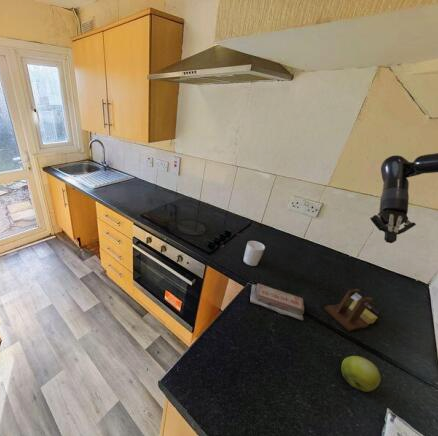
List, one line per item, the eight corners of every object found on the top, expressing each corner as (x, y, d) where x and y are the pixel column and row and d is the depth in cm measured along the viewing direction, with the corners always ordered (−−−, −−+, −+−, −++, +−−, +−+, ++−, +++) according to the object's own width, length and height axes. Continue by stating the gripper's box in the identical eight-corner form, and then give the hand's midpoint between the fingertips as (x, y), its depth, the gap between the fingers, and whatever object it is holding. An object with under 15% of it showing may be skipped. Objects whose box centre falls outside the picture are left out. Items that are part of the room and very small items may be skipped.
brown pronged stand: (341, 305, 90) (355, 282, 85) (367, 327, 81) (385, 303, 76) (323, 308, 88) (336, 285, 82) (348, 331, 79) (365, 307, 74)
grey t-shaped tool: (360, 304, 89) (365, 300, 88) (377, 316, 84) (382, 312, 83) (345, 293, 82) (350, 288, 82) (362, 306, 77) (368, 301, 77)
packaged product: (303, 294, 87) (307, 312, 79) (299, 303, 90) (302, 321, 82) (254, 277, 94) (253, 293, 86) (251, 286, 96) (249, 302, 88)
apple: (373, 380, 65) (388, 364, 61) (368, 405, 59) (384, 388, 55) (340, 359, 70) (352, 343, 66) (332, 380, 64) (345, 363, 61)
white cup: (240, 256, 116) (245, 239, 111) (256, 258, 115) (262, 241, 111) (244, 265, 109) (249, 248, 104) (261, 268, 108) (267, 250, 104)
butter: (351, 305, 90) (355, 300, 89) (373, 322, 83) (377, 317, 82) (344, 307, 89) (348, 301, 88) (366, 324, 82) (370, 318, 81)
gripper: (378, 193, 88) (374, 234, 84) (424, 201, 83) (421, 244, 79) (367, 202, 95) (362, 239, 91) (408, 209, 90) (405, 249, 86)
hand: (390, 242), depth 85 cm, fingers closed
